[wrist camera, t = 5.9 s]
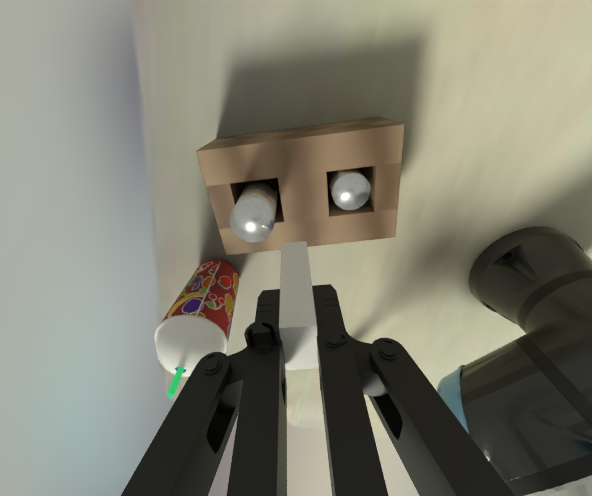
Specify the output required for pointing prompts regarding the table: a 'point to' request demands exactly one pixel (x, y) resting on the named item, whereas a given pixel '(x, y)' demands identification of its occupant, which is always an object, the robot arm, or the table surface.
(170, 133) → the table surface
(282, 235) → the block
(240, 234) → the peg
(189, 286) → the smoothie
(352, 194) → the peg
